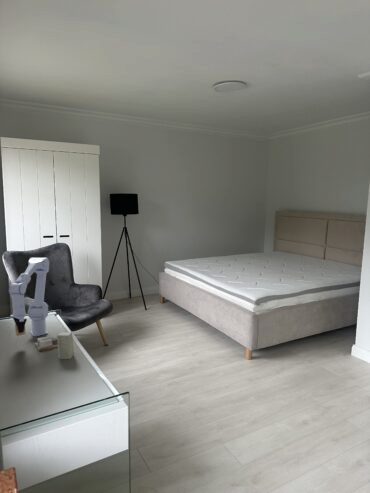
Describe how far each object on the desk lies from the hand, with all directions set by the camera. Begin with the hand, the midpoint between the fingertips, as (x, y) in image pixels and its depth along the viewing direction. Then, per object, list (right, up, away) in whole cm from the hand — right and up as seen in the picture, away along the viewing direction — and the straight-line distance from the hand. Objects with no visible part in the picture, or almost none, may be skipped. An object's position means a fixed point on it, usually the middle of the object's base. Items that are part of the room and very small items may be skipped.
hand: (20, 331), depth 178 cm
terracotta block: (0, -1, 0) cm, 2 cm away
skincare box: (+27, -10, -10) cm, 31 cm away
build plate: (+13, -9, +3) cm, 16 cm away
